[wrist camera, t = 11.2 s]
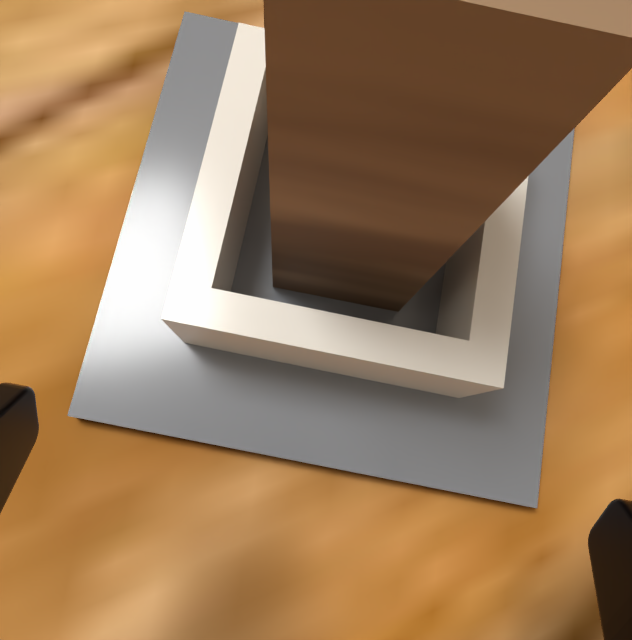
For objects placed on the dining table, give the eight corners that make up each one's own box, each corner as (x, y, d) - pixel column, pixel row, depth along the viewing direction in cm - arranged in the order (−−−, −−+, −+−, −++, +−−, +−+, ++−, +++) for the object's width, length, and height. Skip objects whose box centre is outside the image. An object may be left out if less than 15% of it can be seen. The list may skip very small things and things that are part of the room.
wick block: (398, 311, 17) (655, 42, 5) (272, 286, 17) (261, -42, 5) (416, 195, 18) (672, -250, 6) (297, 171, 18) (334, -329, 6)
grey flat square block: (527, 505, 17) (603, 526, 13) (75, 416, 16) (12, 409, 13) (568, 107, 20) (639, 26, 16) (187, 24, 20) (165, -80, 16)
